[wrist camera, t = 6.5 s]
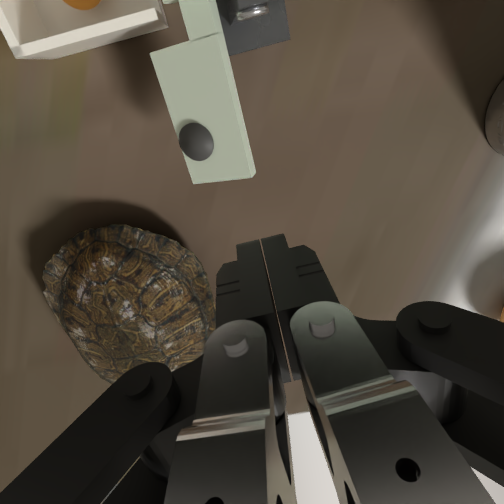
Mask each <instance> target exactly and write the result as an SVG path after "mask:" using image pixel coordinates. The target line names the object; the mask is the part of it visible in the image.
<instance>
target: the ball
mask: <svg viewBox="0 0 504 504" xmlns="http://www.w3.org/2000/svg"><path fill="white" fill-rule="evenodd" d="M63 1H64V2H65V3H66V4H68V5H69V6H71V7H73V8H75V9H79V10H90V9H92V8H94V7H96V6H97V5H98V4H99V3H100V1H101V0H63Z"/></svg>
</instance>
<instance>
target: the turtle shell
mask: <svg viewBox="0 0 504 504" xmlns="http://www.w3.org/2000/svg"><path fill="white" fill-rule="evenodd" d="M42 278H43V280H44V283H45V286H46V289H45V290H44V291H43V294H44V296H45V298H46V301H47V303H48V305H49V306H50V308H51V310H52V311H53V313H54V315H55V316H56V318H57V320H58V321H59V323H60V325H61V326H62V327H63V328H64V330H65V332H66V333H67V334H68V336H69V337H70V339H71V340H72V342H73V343H74V345H75V347H76V348H77V350H78V351H79V353H80V354H81V356H82V358H83V359H84V361H85V362H86V363H87V364H88V366H89V367H90V368H91V369H92V371H93V372H95V373H96V374H97V375H98V376H99V377H100V378H102V379H103V380H105V381H108V382H109V383H111V384H113V383H114V382H115V381H116V380H117V379H118V378H119V377H121V376H122V375H123V374H124V373H125V372H127V371H128V370H130V369H131V368H133V367H135V366H137V365H140V364H143V363H147V362H160V363H163V364H165V365H167V366H168V367H169V368H170V370H171V372H172V371H174V370H176V369H178V368H180V367H182V366H184V365H186V364H188V363H190V362H192V361H194V360H195V359H197V358H198V357H200V356H201V355H202V354H203V353H204V349H205V344H206V341H207V339H208V338H209V336H210V335H211V334H212V333H213V332H214V331H215V330H216V309H215V304H214V300H213V295H212V292H211V288H210V285H209V282H208V278H207V274H206V272H205V271H204V269H203V266H202V264H201V262H200V261H199V260H198V259H197V257H196V256H195V255H194V254H193V252H191V251H189V250H187V249H186V248H184V247H182V246H181V245H180V244H179V243H178V242H177V241H175V240H172V239H169V238H167V237H165V236H163V235H159V234H155V233H151V232H150V231H148V230H145V231H143V230H142V229H140V228H136V227H130V226H128V225H126V224H125V225H109V226H107V227H102V228H97V229H96V230H94V229H93V228H90V229H87V230H86V231H82V232H79V233H77V234H76V235H75V237H74V238H70V239H69V240H68V242H67V243H66V245H63V246H61V249H60V250H59V253H56V254H53V256H52V258H51V260H50V261H48V262H46V264H45V270H43V277H42Z"/></svg>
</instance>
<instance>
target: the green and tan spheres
mask: <svg viewBox="0 0 504 504" xmlns="http://www.w3.org/2000/svg"><path fill="white" fill-rule="evenodd" d="M500 321H501V322H504V307H503V310H502V314H501V318H500Z"/></svg>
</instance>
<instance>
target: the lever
mask: <svg viewBox="0 0 504 504" xmlns="http://www.w3.org/2000/svg"><path fill="white" fill-rule="evenodd" d="M162 1H163V4H173V3H176V2H178V1H179V5H180V8H181V12H182V15H183V19H184V22H185V26H186V30H187V33H188V37H189V40H190V41H187V42H183V43H180V44H177V45H174V46H171V47H167V48H164V49H161V50H158V51H155V52H151V53H150V56H151V59H152V62H153V65H154V68H155V71H156V74H157V77H158V80H159V83H160V86H161V89H162V92H163V95H164V98H165V101H166V104H167V107H168V110H169V113H170V116H171V119H172V122H173V125H174V128H175V131H176V134H177V137H178V140H179V144H180V147H181V149H182V152H183V155H184V158H185V161H186V164H187V167H188V170H189V173H190V176H191V179H192V182H193V184H200V183H209V182H218V181H227V180H236V179H245V178H252V177H253V176H254V174H255V173H256V170H255V165H254V161H253V157H252V153H251V148H250V144H249V140H248V136H247V131H246V127H245V123H244V119H243V114H242V110H241V106H240V102H239V97H238V93H237V89H236V85H235V80H234V76H233V72H232V68H231V63H230V59H229V55H228V51H227V46H226V42H225V38H224V34H223V29H222V25H221V21H220V17H219V12H218V8H217V4H216V0H162Z"/></svg>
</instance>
